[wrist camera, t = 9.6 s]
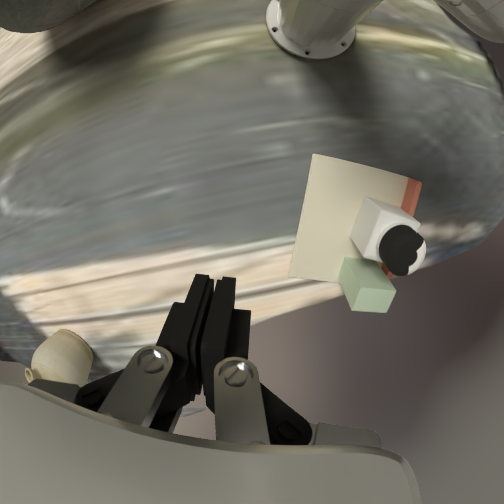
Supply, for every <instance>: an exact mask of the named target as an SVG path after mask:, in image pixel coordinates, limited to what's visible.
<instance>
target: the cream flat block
mask: <svg viewBox="0 0 504 504" xmlns="http://www.w3.org/2000/svg"><path fill="white" fill-rule="evenodd" d="M421 187H422V183H421V182H419V181H417V180H414V179H412V178H409V177H406V176H402V175H399V174H396V173H392V172H389V171H385V170H382V169H378V168H374V167H370V166H367V165H363V164H359V163H354V162H350V161H346V160H342V159H337V158H333V157H328V156H323V155H318V154H313V155H312V161H311V166H310V172H309V177H308V182H307V187H306V192H305V198H304V203H303V208H302V212H301V217H300V222H299V227H298V232H297V236H296V241H295V246H294V250H293V255H292V259H291V264H290V268H289V272H288V277H296V278H304V279H312V280H320V281H329V282H338V283H340V281H339V279H338V275H339V272H340V269H341V266H342V263H343V259H344V256H345V257H352V258H359V259H365V260H371V259H367V258H364V257H363V256H362V254H361V253H360V251H359V250H358V248H357V247H356V245H355V244H354V242H353V241H352V240H351V238H350V235H351V232H352V229H353V227H354V224H355V221H356V218H357V215H358V213H359V210H360V207H361V204H362V201H363V198H364V197H365V196H367V197H370V198H373V199H376V200H379V201H382V202H385V203H388V204H391V205H394V206H397V207H399V208H401V209H402V210H404V211H405V212H406V213H408V214H409V215H410V216H412V217H413V215H414V212H415V209H416V205H417V202H418V198H419V195H420V191H421ZM372 261H375V260H372ZM376 262H377V263H378V265H379V266H380V268H381V269H382V270H383V272H384V273H385V275H386V276H387V278H388V279H389V281H390V280H391V278H392V275H393V274H392V273H391V272H390V271H389V270H388V268H387V267H386V266H385V264H384V263H383V262H379V261H376Z"/></svg>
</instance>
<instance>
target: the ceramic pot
mask: <svg viewBox="0 0 504 504" xmlns="http://www.w3.org/2000/svg"><path fill="white" fill-rule="evenodd" d="M95 1H97V0H0V26H1V27H2V28H4V29H6V30H8V31H12V32H19V33H35V32H42V31H45V30H48V29H50V28H53V27H55V26H57V25H59V24H61V23H63V22H66V21H67V20H69V19H71V18H72V17H74V16H75V15H76V14H78V13H79V12H81V11H82V10H84V9H85V8H86V7H88V6H89V5H91V4H93V3H94V2H95Z"/></svg>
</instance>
